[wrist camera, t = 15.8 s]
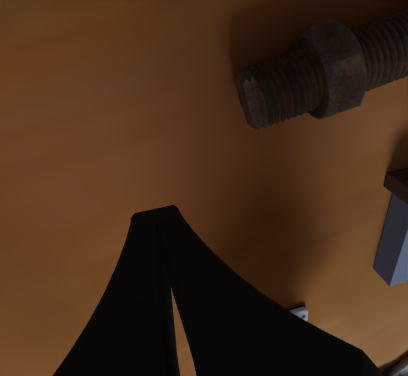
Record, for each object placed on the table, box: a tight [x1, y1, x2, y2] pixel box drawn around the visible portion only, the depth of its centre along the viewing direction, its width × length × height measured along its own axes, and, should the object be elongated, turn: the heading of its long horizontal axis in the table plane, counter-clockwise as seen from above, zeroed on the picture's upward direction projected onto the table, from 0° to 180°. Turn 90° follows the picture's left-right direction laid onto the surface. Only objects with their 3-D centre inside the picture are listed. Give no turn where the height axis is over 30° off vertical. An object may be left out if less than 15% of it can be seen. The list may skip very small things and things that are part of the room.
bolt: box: [235, 9, 408, 130], centre depth 17 cm, size 6×5×15 cm
